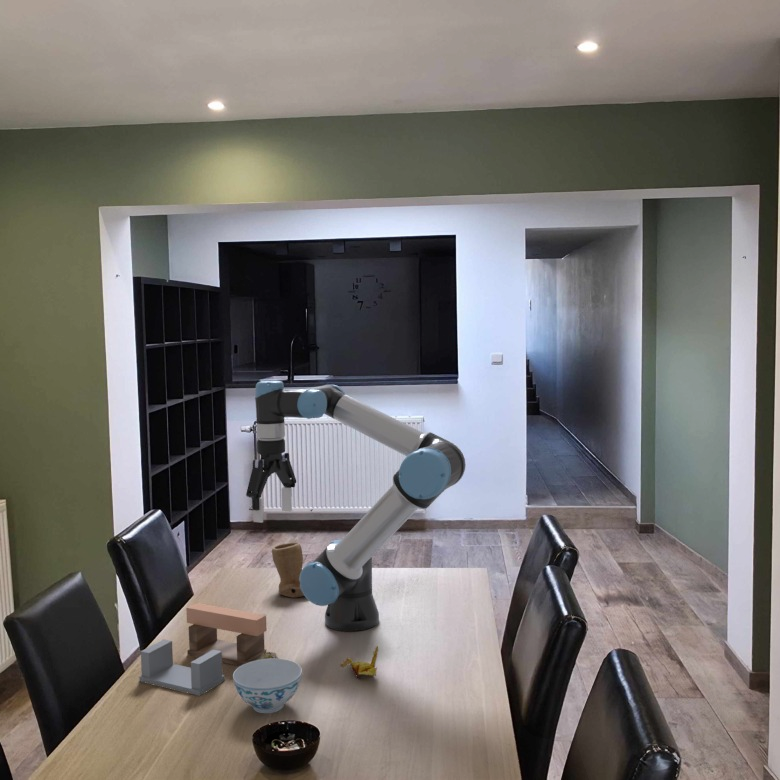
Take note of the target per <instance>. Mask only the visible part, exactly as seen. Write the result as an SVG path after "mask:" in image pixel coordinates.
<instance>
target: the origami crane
mask: <svg viewBox="0 0 780 780" xmlns="http://www.w3.org/2000/svg"><path fill="white" fill-rule="evenodd" d="M378 652H379V645H376V646H375V648H374V651H373V653H372V659H371V661H370V662H363V661H353V659H352V658H348V657H347V658H346V659H345V660H343V662H342V663H340V664H339V667H340V668H344V669H345V668H346V667H347V666H348V665H349V666H350V670H351V671H353V672H354V674H355V677H356V678H357V679H358V678H360V679H361V677H360V676H362V675H365V676H372V677H376V676H377V669H378V667H376V662H377V658H378Z"/></svg>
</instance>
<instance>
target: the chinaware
mask: <svg viewBox="0 0 780 780" xmlns="http://www.w3.org/2000/svg"><path fill="white" fill-rule="evenodd" d="M302 675H303V670H302V666H301V665H299V664H298V663H297V662H296V661H293V660H289V659H285V658H279V659H277V658H270V659H260V660H255V661H251V662H248V663H246V664H243V665H242V666H237V668H236V669H235V670H234V671H233V674H232V681H233V683H234V687H235V690H236V692H237V693H238V695H239V697H241V699H242V700H243V701H244V702H245V703H247V704H248V705H249V706H251V707H252V708H253V711H255V712H257V713H260V714H273V713H276V712H279V711H281V710H282V709H283V708H284V706H285V704H286V703H287V702H288V701H289V700H290V699H292V697H293V696H294V695H295V694H296V692H297V690H298V688H299V686H300V684H301V680H302Z"/></svg>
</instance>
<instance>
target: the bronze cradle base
mask: <svg viewBox="0 0 780 780" xmlns="http://www.w3.org/2000/svg"><path fill="white" fill-rule="evenodd" d="M235 637H236V642H233V641H228V640H223V639H218V629H216V628H211V627H206V626H201V625H196V624H191V625H190V626H188V645H189V647H188V648H189V649H187V650H186V651H187V655H188V656H191V657H195V656H196V658H199V657H201V656H203V655H204V654H206V653H208V652H210V651H211V650H218V651H222V663H223V662H225V663H224V664H228V663H229V664H228V665H232V664H233V666H237V665H239V666H238V667H240V666H242V665H243V664H246V663H248V662H251V661H252V660H256V659H257V657H258V656H260V655H262V654H263V653H267V652H268V651H267V648H265V632H264V633H262V634H260V635H259V636H253V635H247V634H242V633H238V635H236V636H235Z"/></svg>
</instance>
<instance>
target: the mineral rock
mask: <svg viewBox="0 0 780 780" xmlns="http://www.w3.org/2000/svg"><path fill="white" fill-rule="evenodd" d="M266 652H267V653H263V654H262V655H260V656H258V657H257V659H256V660H260V659H270V658H277V659H280V658H279V657H278V655H277V653H276V652H272V651H266ZM252 661H255V660H252Z"/></svg>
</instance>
